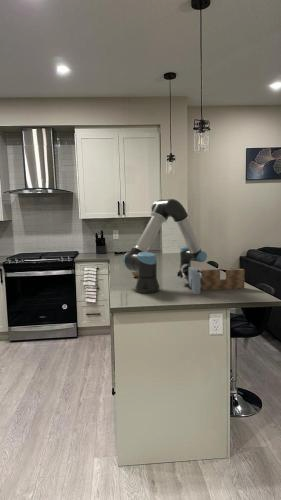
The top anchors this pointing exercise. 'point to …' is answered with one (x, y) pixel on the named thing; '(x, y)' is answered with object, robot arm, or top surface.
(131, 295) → the top surface
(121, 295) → the top surface
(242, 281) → the brown wooden panel
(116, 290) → the top surface
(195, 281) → the slate plate
